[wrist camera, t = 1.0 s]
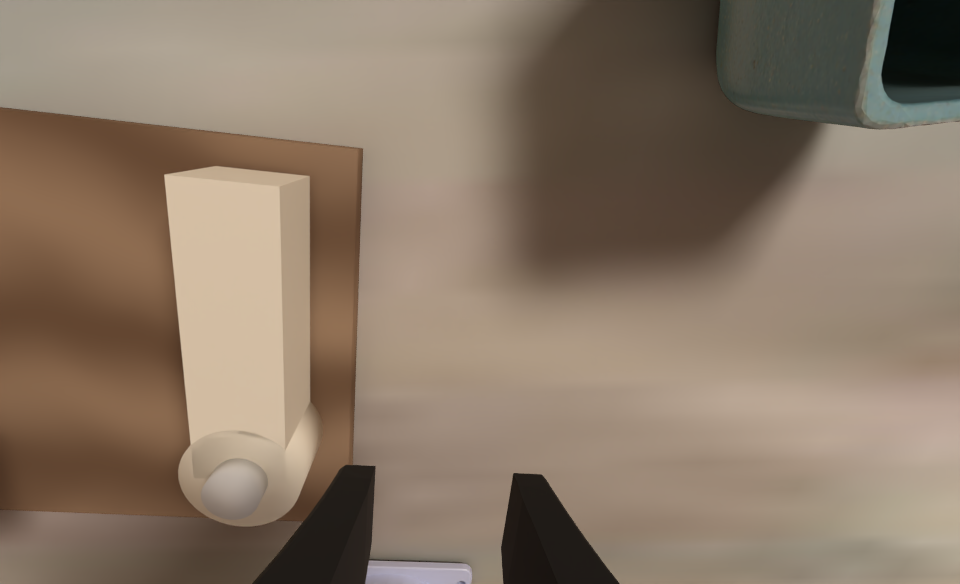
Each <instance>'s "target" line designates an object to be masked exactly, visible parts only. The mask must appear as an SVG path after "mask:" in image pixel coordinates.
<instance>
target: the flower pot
mask: <svg viewBox="0 0 960 584" xmlns="http://www.w3.org/2000/svg"><path fill="white" fill-rule="evenodd" d="M716 65H717V76H718V81H719V84H720V87H721V89H722V91H723V92H724V94H725V95H726V97H727V98H728V99H729V100H730V101H731V102H732V103H734V104H735V105H736V106H738V107H740V108H742V109H744V110H747V111H751V112H754V113H758V114H764V115H770V116H776V117H783V118H790V119H798V120H806V121H814V122H822V123H830V124H838V125H846V126H855V127H862V128H869V129H896V128H905V127H911V126H919V125H931V124H938V123H947V122H959V121H960V0H720V12H719V24H718V37H717V49H716Z"/></svg>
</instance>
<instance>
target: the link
mask: <svg viewBox="0 0 960 584" xmlns="http://www.w3.org/2000/svg"><path fill="white" fill-rule="evenodd" d="M164 178H165V188H166V198H167V209H168V219H169V229H170V239H171V249H172V260H173V270H174V280H175V290H176V300H177V310H178V321H179V331H180V341H181V351H182V361H183V371H184V382H185V392H186V402H187V412H188V422H189V433H190V443H191V445H190V446H189V448H188V449H187V450H186V451H185V453H184V454H183V456H182V458H181V461H180V464H179V469H178V478H179V484H180V486H181V489H182V491H183V493H184V495H185V497H186V498H187V499H188V501H189V502H190V503H191V504H192V505H193V506H194V507H195V508H196V509H197V510H198V511H200V512H201V513H203V514H204V515H206V516H207V517H209V518H211V519H213V520H216V521H218V522H221V523H224V524H228V525H233V526H242V527H251V526H259V525H264V524H267V523H270V522H273V521H275V520H277V519H279V518H281V517H282V516H284V515H285V514H286V513H287V512H289V511H290V509H291V508H292V507H293V506H294V504H295V503H296V501H297V499H298V497H299V495H300V492H301V490H302V487H303V485H304V482H305V480H306V477H307V475H308V472H309V470H310V467H311V465H312V462H313V460H314V458H315V455H316V453H317V450H318V448H319V445H320V443H321V440H322V436H323V425H322V420H321V417H320V415H319V413H318V411H317V409H316V408H315V406H314V405H313V404H312V403H311V402H310V176H305V175H295V174H286V173H277V172H267V171H258V170H249V169H239V168H230V167H221V166H213V167H207V168H201V169H195V170H189V171H183V172H177V173H171V174H165V175H164Z"/></svg>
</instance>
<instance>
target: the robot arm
mask: <svg viewBox="0 0 960 584" xmlns="http://www.w3.org/2000/svg"><path fill="white" fill-rule="evenodd" d="M374 485H375V466H361V465H345V466H343V467H342V468H341V469H339V471H338V473H337V474H336V476H335V478H334V479H333V481H332V482H331V484H330V485H329V487H328V489H327V490H326V491H325V493H324V494H323V496H322V497H321V499H320V500H319V502H318V503H317V504H316V506H315V507H314V508H313V510H312V511H311V513H310V514H309V515H308V517H307V518H306V519H305V520H304V522H303V523H302V524H301V526H300V527H299V528H298V529H297V531H296V532H295V533H294V535H293V536H292V537H291V538H290V540H289V541H288V542H287V544H286V545H285V546H284V547H283V549H282V550H281V551H280V552H279V553H278V555H277V556H276V557H275V558H274V559H273V560H272V562H271V563H270V564H269V565H268V566H267V567H266V568H265V570H264V571H263V572H262V573H261V574H260V575H259V576H258V578H257V579H256V580H255V581H254V582H253V583H252V584H471V581H472V569H471V567H470V566H469V565H467V564H464V563H437V562H405V561H373V560H369V556H370V550H371V543H372V524H373V504H374ZM501 552H502V568H503V583H504V584H619V582H618V581H617V580H616V579H615V577H614V576H613V575H612V573H611V572H610V571H609V570H608V568H607V567H606V566H605V564H604V563H603V562H602V560H601V559H600V558H599V556H598V555H597V553H596V552H595V551H594V549H593V548H592V547H591V545H590V544H589V543H588V541H587V540H586V539H585V537H584V536H583V534H582V533H581V531H580V530H579V529H578V527H577V526H576V524H575V523H574V521H573V520H572V518H571V517H570V516H569V514H568V513H567V511H566V510H565V508H564V507H563V505H562V504H561V502H560V501H559V499H558V497H557V496H556V494H555V493H554V491H553V490H552V488H551V487H550V485H549V484H548V482H547V480H546V479H545V478H544V477H543V475H539V474H519V473H514V474H513V480H512V486H511V492H510V498H509V504H508V510H507V516H506V522H505V528H504V534H503V540H502V546H501ZM459 581H462V582H459Z"/></svg>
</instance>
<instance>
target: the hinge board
mask: <svg viewBox="0 0 960 584" xmlns="http://www.w3.org/2000/svg"><path fill="white" fill-rule="evenodd" d="M362 161H363V149H362V148H354V147H345V146H336V145H327V144H319V143H310V142H301V141H292V140H283V139H275V138H266V137H257V136H248V135H239V134H231V133H222V132H213V131H204V130H195V129H187V128H178V127H169V126H160V125H151V124H143V123H134V122H125V121H116V120H107V119H99V118H90V117H81V116H72V115H63V114H55V113H46V112H37V111H28V110H19V109H11V108H2V107H0V510H23V511H49V512H75V513H101V514H126V515H152V516H178V517H204V518H209V517H207V516H206V515H204V514H203V513H201V512H200V511H198V510H197V509H196V508H195V507H194V506H193V505H192V504H191V503H190V502H189V501H188V499H187V498H186V497H185V495H184V493H183V491H182V489H181V486H180V484H179V478H178V469H179V464H180V461H181V458H182V456H183V454H184V453H185V451H186V450H187V449H188V448H189V446H190V445H191V443H190V433H189V422H188V412H187V402H186V392H185V382H184V371H183V361H182V351H181V341H180V331H179V321H178V310H177V300H176V290H175V280H174V270H173V260H172V249H171V239H170V229H169V219H168V209H167V198H166V188H165V178H164V175H165V174H171V173H177V172H183V171H189V170H195V169H201V168H207V167H213V166H221V167H230V168H239V169H249V170H258V171H267V172H277V173H286V174H295V175H305V176H310V402H311V403H312V404H313V405H314V406H315V408H316V409H317V411H318V413H319V415H320V417H321V420H322V425H323V436H322V440H321V443H320V445H319V448H318V450H317V453H316V455H315V458H314V460H313V462H312V465H311V467H310V470H309V472H308V475H307V477H306V480H305V482H304V485H303V487H302V490H301V492H300V495H299V497H298V499H297V501H296V503H295V504H294V506H293V507H292V508H291V509H290V511H289V512H287V513H286V514H285V515H284V516H282V517H281V518H279V519H277V520H281V521H304V520H305V519H306V518H307V517H308V515H309V514H310V513H311V511H312V510H313V508H314V507H315V506H316V504H317V503H318V502H319V500H320V499H321V497H322V496H323V494H324V493H325V491H326V490H327V489H328V487H329V485H330V484H331V482H332V481H333V479H334V478H335V476H336V474H337V473H338V471H339V469H341V468H342V467H343V466H345V465H353V437H354V406H355V376H356V345H357V314H358V284H359V253H360V222H361V192H362Z"/></svg>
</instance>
